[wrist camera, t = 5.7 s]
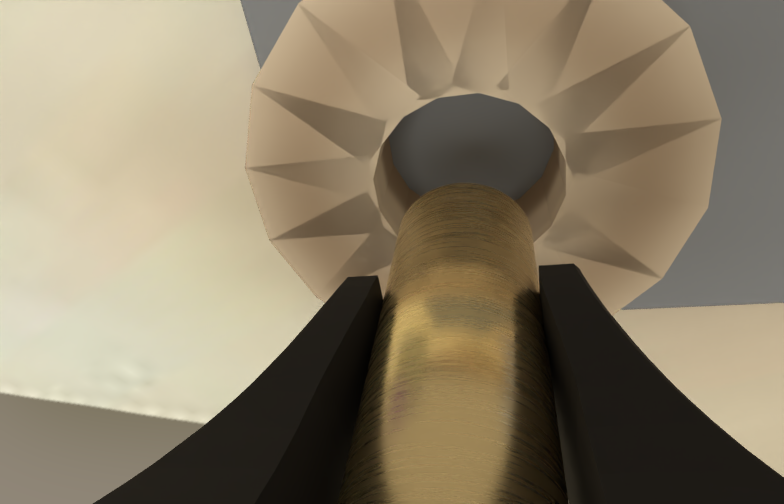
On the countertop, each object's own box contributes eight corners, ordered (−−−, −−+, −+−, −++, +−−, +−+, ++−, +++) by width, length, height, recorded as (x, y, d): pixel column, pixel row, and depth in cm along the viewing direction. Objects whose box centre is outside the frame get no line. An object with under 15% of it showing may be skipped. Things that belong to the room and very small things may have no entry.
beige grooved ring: (707, -128, 13) (758, -126, 11) (661, 285, 20) (687, 346, 17) (228, -40, 16) (181, -22, 13) (328, 302, 22) (309, 357, 20)
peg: (529, 176, 12) (590, 569, 5) (534, 291, 13) (585, 701, 7) (388, 189, 12) (283, 556, 6) (409, 297, 14) (345, 680, 7)
